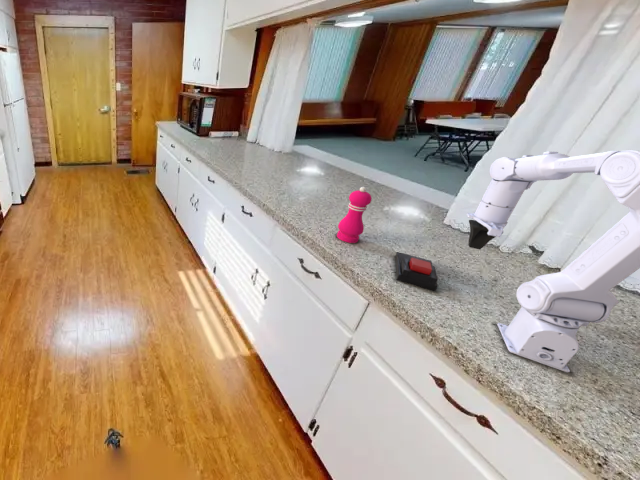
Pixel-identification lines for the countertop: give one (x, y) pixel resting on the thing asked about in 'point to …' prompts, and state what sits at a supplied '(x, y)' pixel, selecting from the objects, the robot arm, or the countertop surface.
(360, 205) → the pepper mill
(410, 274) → the press
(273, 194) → the countertop surface
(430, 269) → the block
